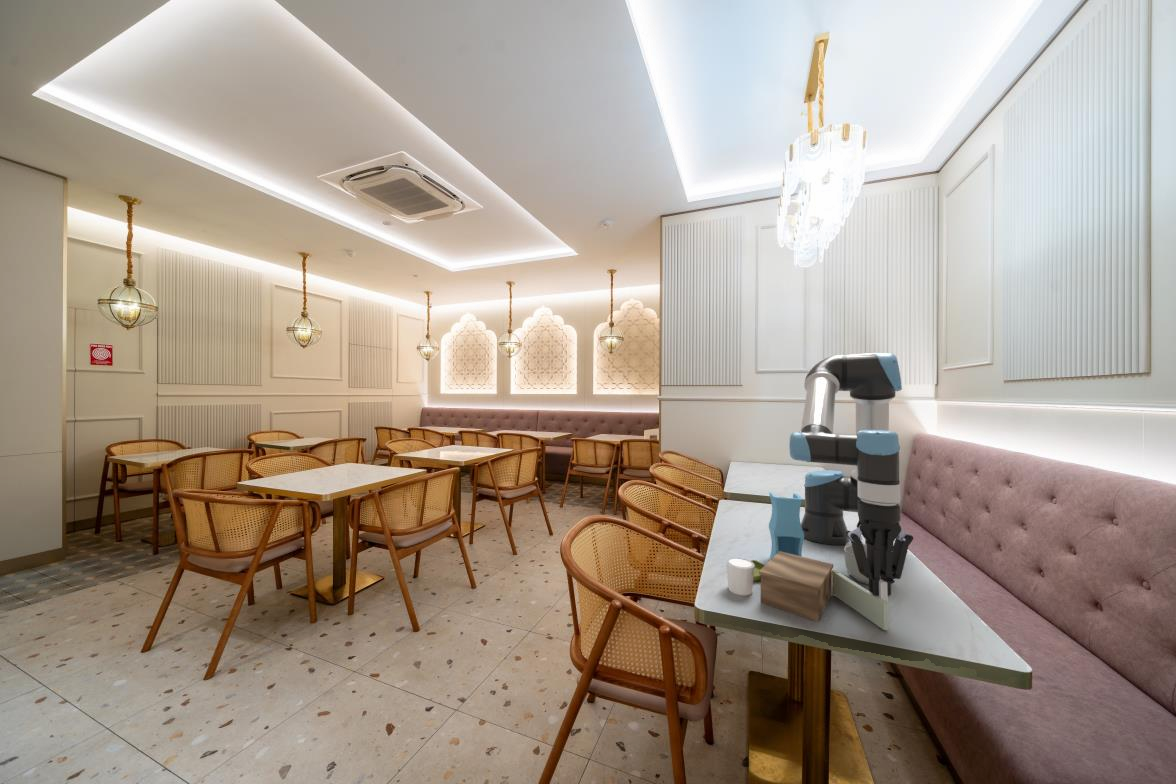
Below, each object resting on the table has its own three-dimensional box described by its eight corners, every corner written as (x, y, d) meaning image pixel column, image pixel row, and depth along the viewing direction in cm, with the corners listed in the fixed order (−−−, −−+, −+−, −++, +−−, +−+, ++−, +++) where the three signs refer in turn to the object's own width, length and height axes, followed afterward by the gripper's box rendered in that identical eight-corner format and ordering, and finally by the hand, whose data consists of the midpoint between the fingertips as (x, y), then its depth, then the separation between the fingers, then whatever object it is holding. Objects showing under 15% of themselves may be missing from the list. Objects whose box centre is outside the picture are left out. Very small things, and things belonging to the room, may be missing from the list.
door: (831, 593, 98) (831, 570, 98) (836, 592, 98) (836, 570, 98) (883, 630, 82) (883, 603, 82) (890, 629, 82) (889, 603, 82)
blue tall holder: (796, 558, 120) (796, 493, 120) (804, 569, 112) (804, 499, 113) (768, 556, 122) (768, 491, 122) (774, 566, 114) (774, 497, 115)
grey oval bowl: (902, 591, 100) (902, 560, 100) (854, 587, 102) (854, 556, 102) (874, 568, 113) (874, 540, 114) (832, 565, 116) (832, 537, 116)
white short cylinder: (738, 581, 105) (738, 555, 105) (760, 592, 99) (760, 564, 99) (720, 587, 102) (720, 560, 102) (741, 599, 96) (741, 570, 96)
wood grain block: (779, 578, 107) (779, 551, 107) (833, 594, 98) (833, 564, 98) (759, 602, 94) (759, 571, 94) (819, 622, 86) (818, 588, 86)
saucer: (730, 571, 112) (730, 563, 112) (754, 566, 115) (754, 559, 115) (753, 584, 104) (753, 576, 104) (778, 579, 107) (778, 571, 107)
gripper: (897, 497, 89) (899, 601, 89) (838, 496, 90) (839, 599, 90) (922, 506, 82) (925, 620, 82) (857, 505, 83) (859, 618, 82)
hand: (880, 609), depth 86 cm, fingers closed
